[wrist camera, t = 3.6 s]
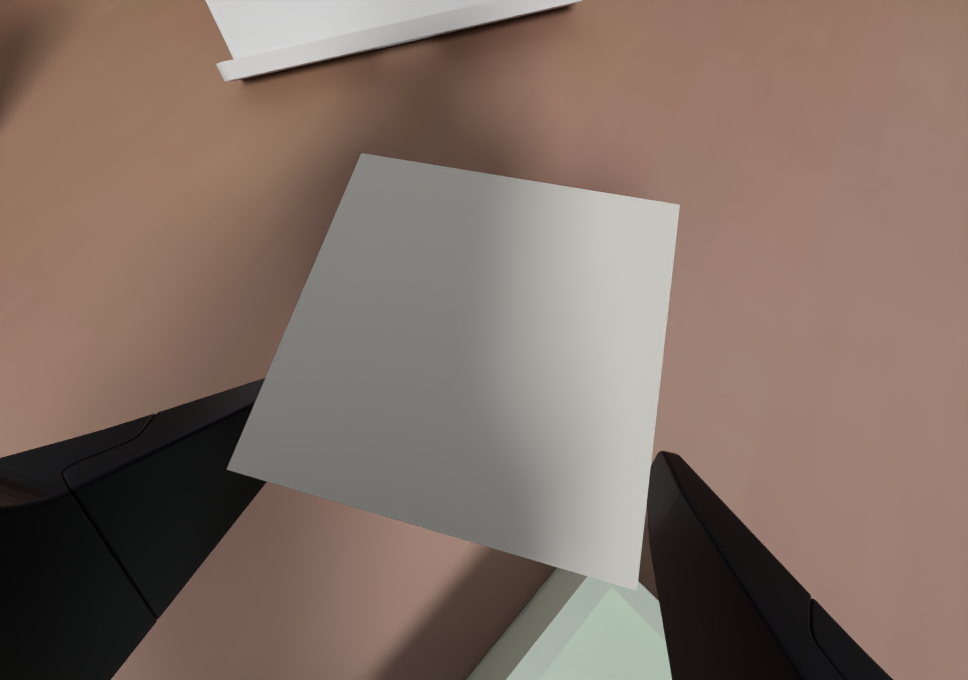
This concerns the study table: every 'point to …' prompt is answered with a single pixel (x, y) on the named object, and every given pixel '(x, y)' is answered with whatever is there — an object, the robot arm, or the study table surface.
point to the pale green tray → (581, 635)
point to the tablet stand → (344, 27)
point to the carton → (477, 363)
